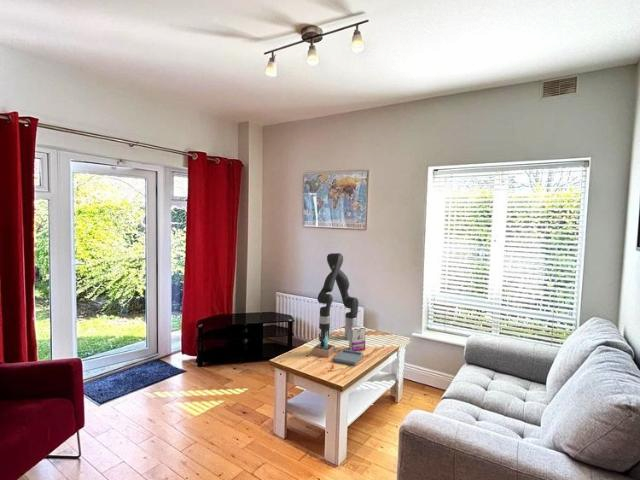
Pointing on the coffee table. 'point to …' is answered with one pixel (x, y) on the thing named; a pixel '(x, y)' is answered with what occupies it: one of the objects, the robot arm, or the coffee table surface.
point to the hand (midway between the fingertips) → (324, 345)
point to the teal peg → (325, 344)
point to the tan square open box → (323, 352)
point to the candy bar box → (357, 338)
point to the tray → (348, 357)
